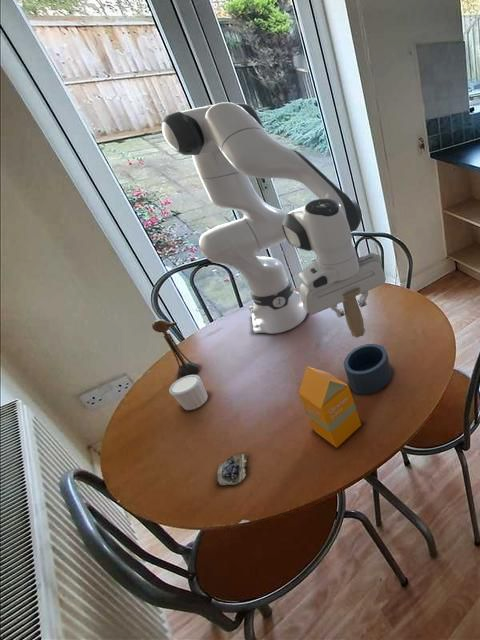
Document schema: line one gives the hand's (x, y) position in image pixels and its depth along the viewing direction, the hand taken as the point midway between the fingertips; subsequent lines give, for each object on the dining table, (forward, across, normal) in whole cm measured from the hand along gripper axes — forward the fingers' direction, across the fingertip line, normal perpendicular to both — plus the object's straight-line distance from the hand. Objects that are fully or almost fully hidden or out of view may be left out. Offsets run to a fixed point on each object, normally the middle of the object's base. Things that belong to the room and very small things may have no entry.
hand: (351, 310), depth 103 cm
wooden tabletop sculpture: (+25, +38, -40) cm, 61 cm away
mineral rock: (+25, +36, +4) cm, 44 cm away
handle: (+8, 0, 0) cm, 8 cm away
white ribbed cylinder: (+25, +39, -26) cm, 53 cm away
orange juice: (+25, +14, +10) cm, 30 cm away
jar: (+25, 0, 0) cm, 25 cm away
